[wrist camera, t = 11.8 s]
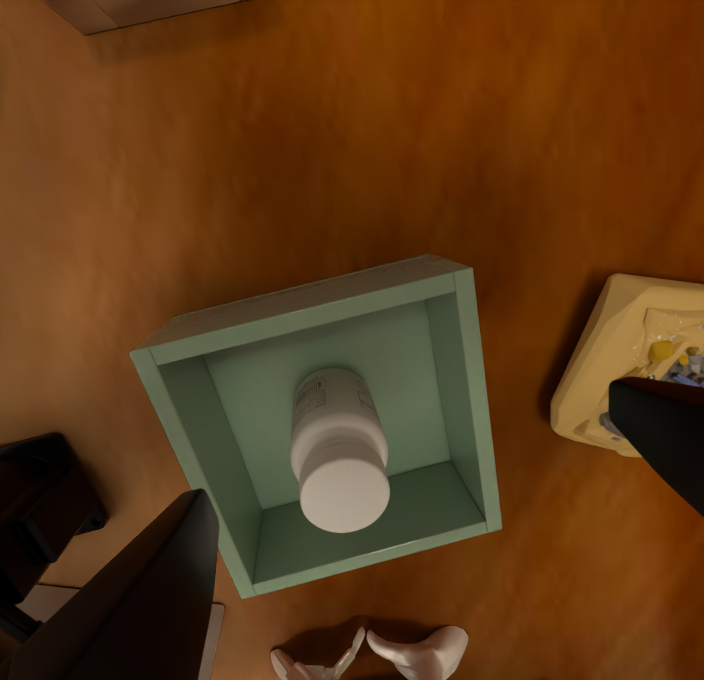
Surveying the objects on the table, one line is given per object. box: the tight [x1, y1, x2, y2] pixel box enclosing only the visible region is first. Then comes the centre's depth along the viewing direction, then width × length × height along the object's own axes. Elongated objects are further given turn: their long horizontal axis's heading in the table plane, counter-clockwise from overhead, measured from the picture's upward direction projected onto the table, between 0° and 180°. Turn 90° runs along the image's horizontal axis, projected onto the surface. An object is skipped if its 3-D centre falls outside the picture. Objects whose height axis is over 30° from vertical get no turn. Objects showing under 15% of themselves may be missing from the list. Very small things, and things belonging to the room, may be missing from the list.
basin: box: [129, 253, 502, 599], centre depth 19 cm, size 14×14×6 cm
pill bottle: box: [290, 368, 390, 533], centre depth 18 cm, size 4×4×8 cm
